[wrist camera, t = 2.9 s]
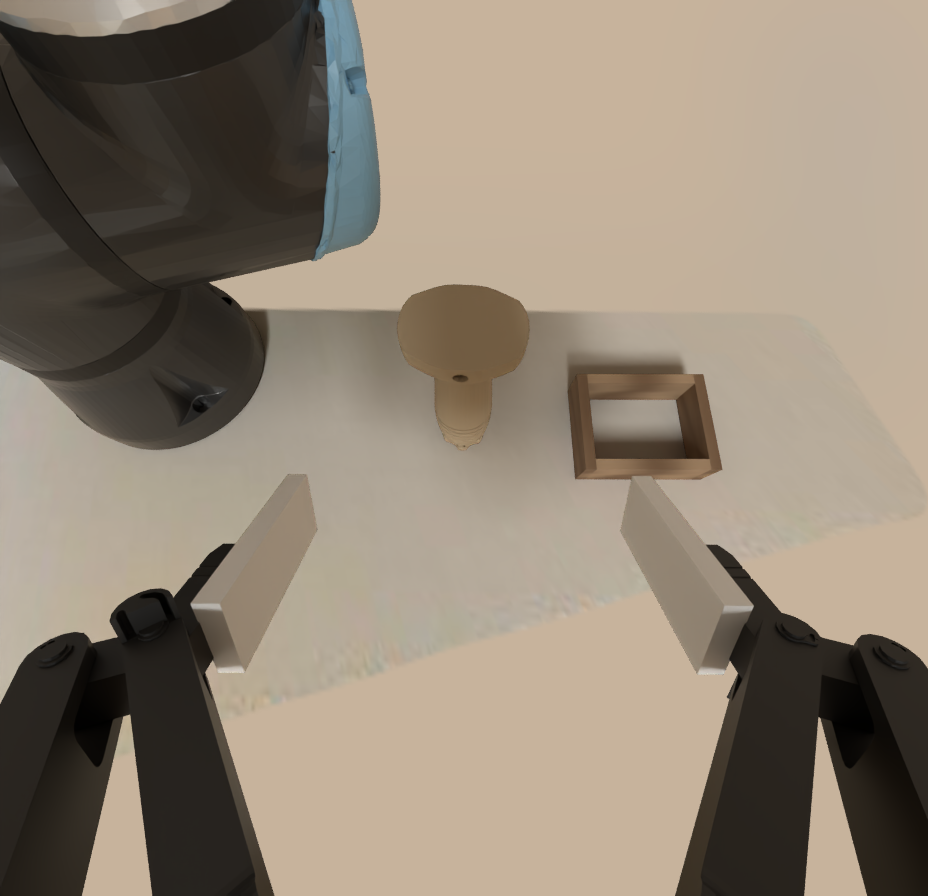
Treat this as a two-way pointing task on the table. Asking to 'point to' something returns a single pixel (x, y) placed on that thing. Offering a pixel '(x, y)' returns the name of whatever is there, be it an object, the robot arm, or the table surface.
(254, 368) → the robot arm
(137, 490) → the table surface
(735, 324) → the table surface
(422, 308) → the handle
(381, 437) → the table surface
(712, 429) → the socket block
